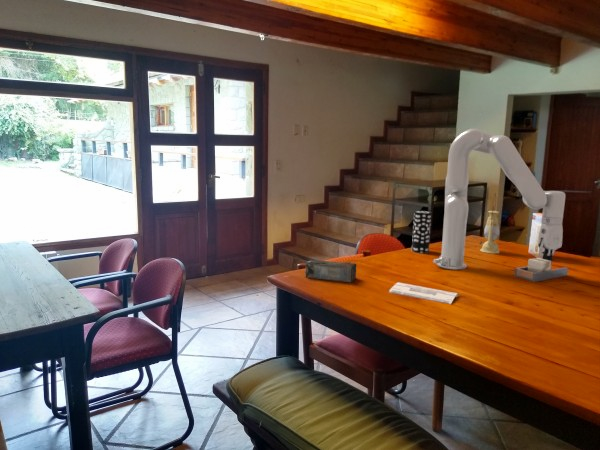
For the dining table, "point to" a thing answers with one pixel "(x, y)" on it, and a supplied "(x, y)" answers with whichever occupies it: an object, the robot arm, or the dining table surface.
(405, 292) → the newspaper
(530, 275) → the grey shallow tray
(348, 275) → the beverage carton
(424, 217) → the white-spotted black cylinder
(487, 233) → the lantern
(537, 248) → the cracker box
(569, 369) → the dining table surface
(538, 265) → the block
